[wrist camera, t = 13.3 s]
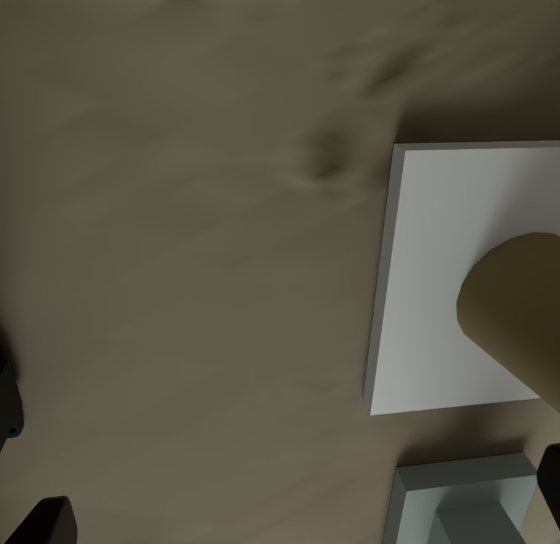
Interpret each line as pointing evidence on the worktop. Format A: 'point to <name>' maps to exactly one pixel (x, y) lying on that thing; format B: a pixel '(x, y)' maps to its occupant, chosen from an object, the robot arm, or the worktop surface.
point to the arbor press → (452, 324)
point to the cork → (518, 310)
